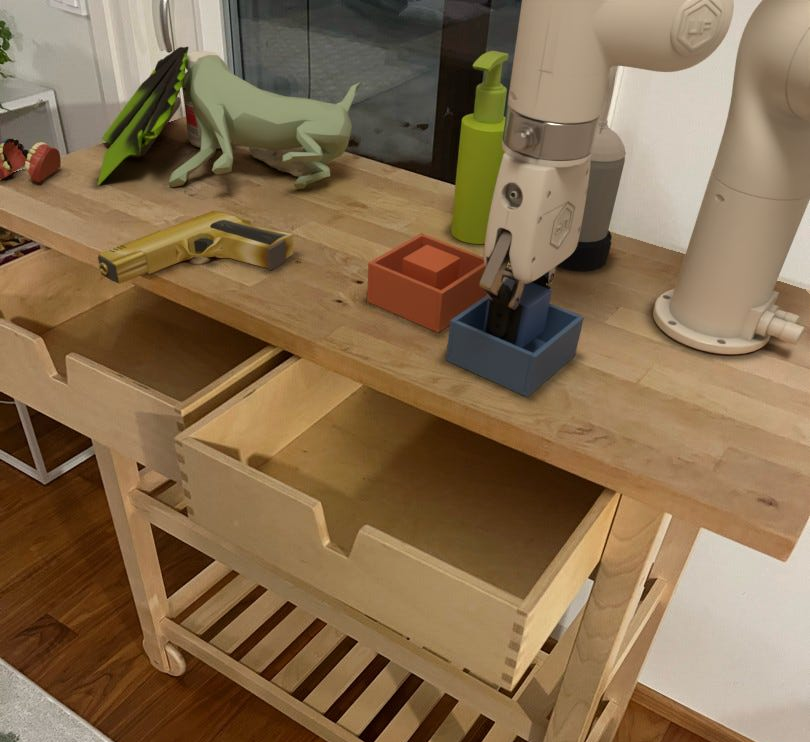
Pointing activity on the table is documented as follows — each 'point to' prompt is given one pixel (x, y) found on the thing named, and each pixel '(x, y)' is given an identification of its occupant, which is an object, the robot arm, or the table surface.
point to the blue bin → (513, 349)
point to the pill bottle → (190, 115)
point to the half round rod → (146, 147)
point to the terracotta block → (432, 267)
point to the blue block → (529, 311)
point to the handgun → (197, 246)
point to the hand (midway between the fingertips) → (514, 327)
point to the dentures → (28, 159)
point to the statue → (261, 122)
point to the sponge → (280, 160)
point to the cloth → (145, 111)
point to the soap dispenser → (480, 153)
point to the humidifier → (599, 193)
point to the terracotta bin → (424, 285)
